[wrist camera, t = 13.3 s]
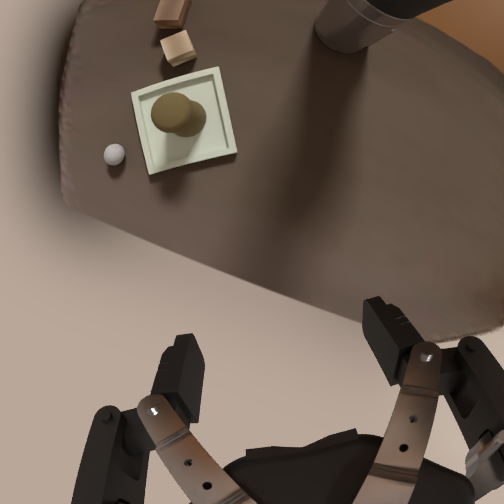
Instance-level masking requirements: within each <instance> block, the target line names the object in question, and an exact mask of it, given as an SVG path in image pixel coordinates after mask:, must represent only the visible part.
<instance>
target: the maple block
mask: <svg viewBox="0 0 504 504" xmlns="http://www.w3.org/2000/svg"><path fill="white" fill-rule="evenodd" d="M160 42H161V45H162V47H163V50H164V53H165V56H166V58H167V61H168V62H169V63H170V64H171V65H172V66H173V67H174V66H177V65H179V64H182V63H184V62H187V61H189V60H192V59H194V58H197V55H196V53H195V50H194V48H193V45H192V43H191V40H190V38H189V36H188V34H187V32H186V30H184V31H182V32H179V33H177V34H174V35H172V36H169V37H167V38H165V39H162V40H160Z"/></svg>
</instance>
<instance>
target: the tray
mask: <svg viewBox="0 0 504 504" xmlns="http://www.w3.org/2000/svg"><path fill="white" fill-rule="evenodd" d="M170 92H178V93H181V94H184V95H185V96H186V97H188V98H189V99H190V100H193V101H196V102H198V103H199V104H201V105H202V106H203V108H204V109H205V112H206V116H207V117H206V123H205V125H204V127H203V129H202V130H201V131H200V132H199V133H198V134H196V135H194V136H191V137H180V136H178V135H176V134H174V133H165V132H162V131H160V130H159V129H157V128H156V127H155V125H154V124H153V122H152V119H151V109H152V106H153V104H154V102H155V101H156V100H157V99H158V98H159V97H161V96H162V95H164V94H167V93H170ZM131 95H132V100H133V105H134V111H135V116H136V121H137V125H138V130H139V135H140V139H141V144H142V148H143V152H144V156H145V160H146V165H147V169H148V172H149V175H150V174H154V173H157V172H160V171H164V170H167V169H171V168H174V167H178V166H182V165H186V164H189V163H193V162H197V161H201V160H205V159H210V158H214V157H218V156H223V155H227V154H232V153H236V152H237V148H236V143H235V139H234V134H233V129H232V125H231V120H230V116H229V111H228V106H227V102H226V97H225V92H224V88H223V83H222V79H221V74H220V70H219V67H214V68H210V69H206V70H201V71H198V72H194V73H190V74H186V75H183V76H179V77H176V78H173V79H169V80H166V81H163V82H160V83H157V84H154V85H151V86H148V87H146V88H143V89H140V90H137V91H135V92H132V93H131Z"/></svg>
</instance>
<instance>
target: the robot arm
mask: <svg viewBox="0 0 504 504" xmlns="http://www.w3.org/2000/svg"><path fill="white" fill-rule="evenodd" d="M449 1H452V0H328V2H327V3H326V5H325V6H324V8H323V9H322V10H321V12H320V13H319V15H318V16H317V18H316V20H315V25H314V27H315V31H316V34H317V36H318V37H319V39H320V40H321V41H322V42H323V43H324V44H325V45H326V46H327V47H329V48H331V49H332V50H334V51H337V52H340V53H345V54H351V53H355V52H358V51H360V50H361V49H363V48H364V47H369V46H371V45H372V44H374V43H376V42H377V41H379V40H381V39H382V38H384V37H386V36H387V35H389V34H391V33H392V32H394V30H395V28H396V27H398V26H400V25H402V24H403V23H405V22H407V21H408V20H410V19H412V18H414V17H416V16H418V15H420V14H421V13H424V12H426V11H429V10H431V9H433V8H436V7H437V6H440V5H442V4H444V3H447V2H449ZM362 328H363V333H364V336H365V338H366V340H367V342H368V344H369V346H370V348H371V350H372V351H373V353H374V355H375V357H376V359H377V361H378V363H379V365H380V367H381V368H382V370H383V372H384V374H385V376H386V378H387V380H388V382H389V384H390V386H393V385H396V384H399V385H400V387H401V389H400V392H399V395H398V398H397V401H396V405H395V408H394V410H393V413H392V416H391V419H390V421H389V424H388V427H387V429H386V432H385V434H384V437H380V436H375V435H370V434H357V431H356V428H354V429H351V430H347V431H344V432H340V433H336V434H333V435H329V436H327V437H325V438H323V439H320V440H318V441H316V442H314V443H312V444H309V445H307V446H305V447H300V448H299V447H277V446H271V447H263V448H255V449H246V456H244V457H241V458H239V459H237V460H235V461H233V462H231V463H229V464H228V465H227V466H225V467H224V468H223V469H222V468H221V467H220V466H219V465H218V464H217V463H216V462H215V461H214V459H213V458H212V457H211V456H210V455H209V454H208V452H207V451H206V450H205V449H204V448H203V447H202V445H201V444H200V443H199V442H198V441H197V439H196V438H195V437H194V436H193V434H192V433H191V432H190V431H189V428H190V423H198V421H199V412H200V403H201V395H202V386H203V378H204V371H205V362H204V358H203V355H202V353H201V350H200V348H199V346H198V344H197V341H196V339H195V336H194V335H193V334H192V333H190V334H183V335H177V336H176V339H175V342H174V345H173V346H170V347H168V348H167V349H166V350H165V352H164V353H163V354H162V357H161V360H160V364H159V366H158V371H157V373H156V376H155V380H154V383H153V387H152V390H151V394H150V395H148V396H146V397H145V398H143V399H142V400H141V401H140V402H139V404H138V406H137V408H134V409H131V410H127V411H123V412H120V410H119V409H118V408H117V407H115V406H111V405H110V406H105V407H102V408H101V409H99V410H98V411H97V413H96V414H95V416H94V419H93V422H92V425H91V429H90V432H89V435H88V438H87V442H86V445H85V448H84V452H83V456H82V460H81V463H80V467H79V471H78V475H77V479H76V483H75V488H74V492H73V497H72V502H71V504H144V497H145V487H146V478H147V469H148V461H149V453H150V451H152V450H156V452H157V453H158V455H159V457H160V458H161V460H162V461H163V463H164V464H165V466H166V467H167V469H168V470H169V472H170V473H171V475H172V476H173V477H174V479H175V481H176V482H177V483H178V485H179V486H180V487H181V489H182V490H183V491H184V493H185V494H186V495H187V497H188V498H189V499H190V500H191V502H190V503H189V504H475V501H477V500H478V499H480V498H481V497H483V496H484V495H486V494H487V493H489V492H490V491H492V490H495V489H497V488H499V487H500V486H502V485H503V484H504V370H503V368H502V367H501V366H500V364H499V363H498V362H497V360H496V359H495V357H494V356H493V355H492V353H491V352H490V351H489V349H488V348H487V347H486V345H485V344H484V343H483V342H482V341H481V340H480V339H479V338H477V337H474V336H467V337H464V338H462V339H461V340H460V341H459V343H458V346H457V347H454V348H446V349H440V348H439V346H437V345H436V344H434V343H432V342H427V341H424V339H423V338H422V337H421V335H420V334H419V333H418V332H417V330H416V329H415V328H414V326H413V325H412V324H411V322H409V320H408V319H407V317H405V315H404V313H403V312H402V311H401V310H400V308H398V307H396V306H394V305H393V304H388V305H386V304H385V302H384V301H383V300H382V298H381V297H380V296H377V297H373V298H370V299H366V300H364V302H363V321H362ZM439 395H444V397H445V399H446V401H447V403H448V405H449V407H450V409H451V411H452V413H453V415H454V417H455V419H456V421H457V423H458V425H459V428H460V430H461V432H462V434H463V436H464V439H465V441H466V443H467V445H468V448H469V452H468V454H467V456H466V460H465V464H466V476H464V475H463V474H460V473H458V472H455V471H453V470H450V469H448V468H446V467H443V466H441V465H439V464H437V463H434V462H432V461H430V460H428V459H426V458H423V457H424V454H425V450H426V447H427V443H428V440H429V437H430V433H431V428H432V425H433V421H434V416H435V412H436V407H437V402H438V397H439Z"/></svg>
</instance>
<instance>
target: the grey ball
mask: <svg viewBox="0 0 504 504" xmlns="http://www.w3.org/2000/svg"><path fill="white" fill-rule="evenodd" d="M124 155H125V152H124V149H123V147H122V146H121V145H119V144H112V145H110V146H108V147H107V148H106V150H105V152H104V159H105V161H106V162H107V163H108V164H110V165H117V164H119V163H120V162H122V160H123V159H124Z"/></svg>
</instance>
